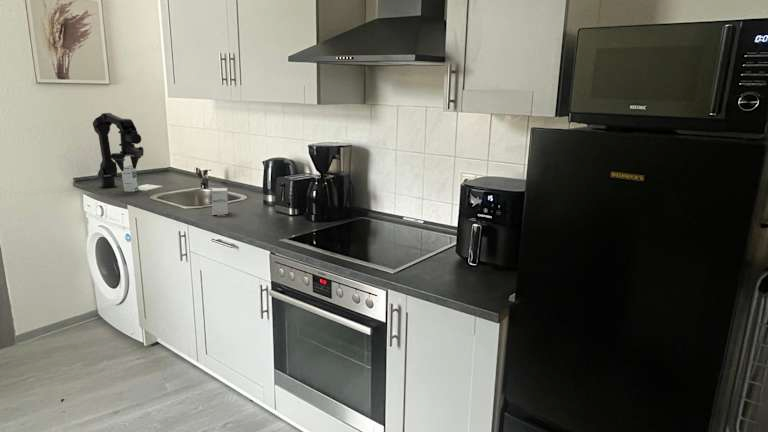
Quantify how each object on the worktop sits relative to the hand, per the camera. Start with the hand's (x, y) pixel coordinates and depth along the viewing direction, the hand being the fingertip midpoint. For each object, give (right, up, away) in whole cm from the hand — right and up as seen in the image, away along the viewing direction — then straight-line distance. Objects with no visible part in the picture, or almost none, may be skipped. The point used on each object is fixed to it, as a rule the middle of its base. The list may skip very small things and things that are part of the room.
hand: (128, 169), depth 291 cm
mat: (+1, -9, +18) cm, 21 cm away
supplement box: (+63, -25, -35) cm, 76 cm away
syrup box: (-2, -12, +8) cm, 14 cm away
